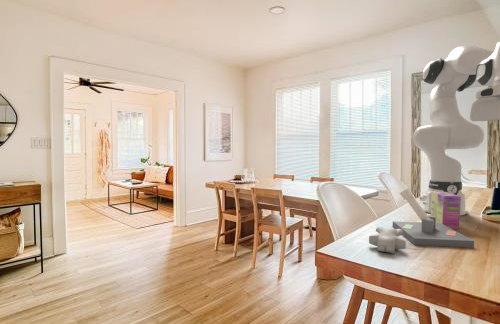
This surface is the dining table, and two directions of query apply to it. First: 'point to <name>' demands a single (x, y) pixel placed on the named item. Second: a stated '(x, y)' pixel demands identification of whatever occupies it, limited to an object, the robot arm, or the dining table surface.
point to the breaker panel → (432, 234)
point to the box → (446, 208)
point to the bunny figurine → (387, 240)
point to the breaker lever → (415, 204)
